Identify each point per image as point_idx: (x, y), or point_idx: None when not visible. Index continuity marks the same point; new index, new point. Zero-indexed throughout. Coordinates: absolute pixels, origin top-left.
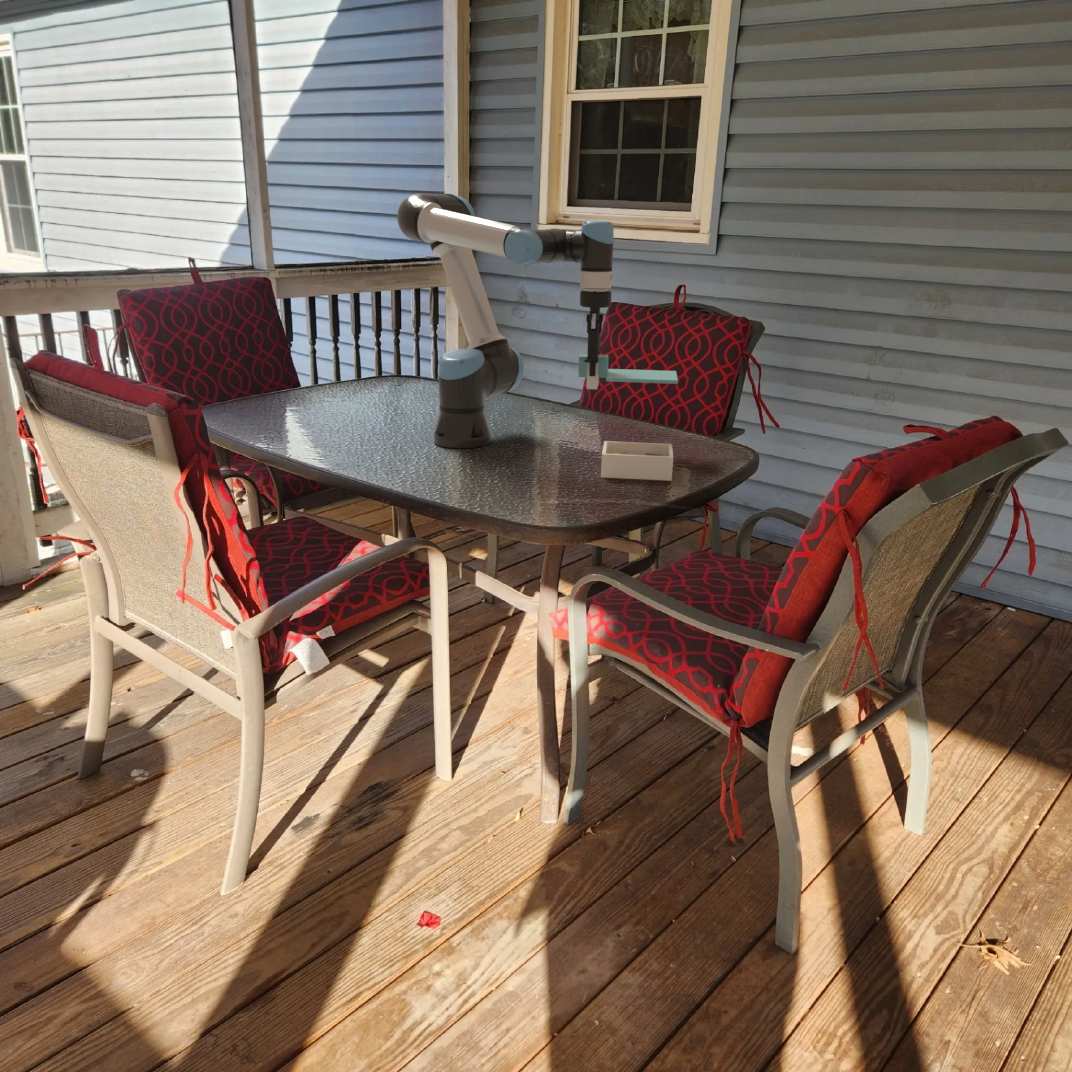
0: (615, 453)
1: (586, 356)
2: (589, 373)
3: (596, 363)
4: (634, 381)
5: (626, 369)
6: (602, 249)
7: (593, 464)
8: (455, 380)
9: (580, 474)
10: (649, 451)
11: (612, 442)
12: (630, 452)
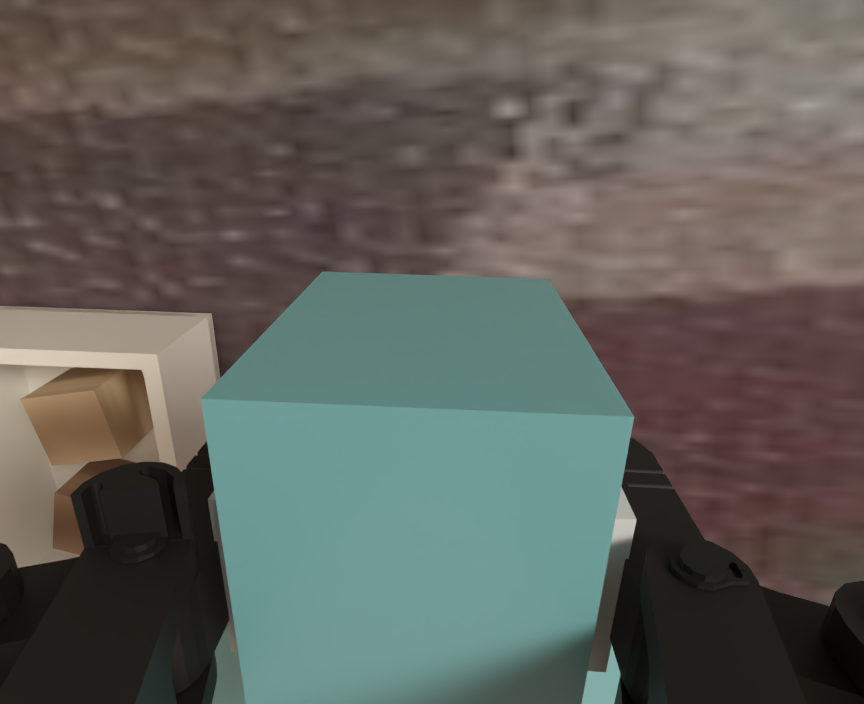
0: (70, 393)
1: (268, 552)
2: (206, 441)
3: (232, 617)
4: None
5: None
6: None
7: (227, 270)
8: None
9: (56, 217)
10: None
11: (147, 392)
12: (112, 453)
